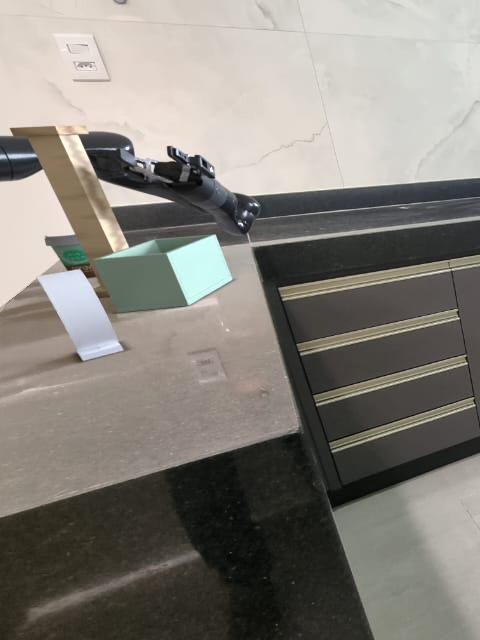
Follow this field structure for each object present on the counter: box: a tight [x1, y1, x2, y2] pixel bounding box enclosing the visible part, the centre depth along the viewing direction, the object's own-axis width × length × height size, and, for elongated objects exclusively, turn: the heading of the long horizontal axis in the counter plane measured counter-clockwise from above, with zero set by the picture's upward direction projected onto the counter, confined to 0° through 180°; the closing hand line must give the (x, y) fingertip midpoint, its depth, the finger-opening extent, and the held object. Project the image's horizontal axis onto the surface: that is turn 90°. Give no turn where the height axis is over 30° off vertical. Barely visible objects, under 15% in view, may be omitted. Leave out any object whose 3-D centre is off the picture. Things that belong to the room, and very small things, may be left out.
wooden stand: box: [9, 125, 130, 299], centre depth 106 cm, size 9×9×32 cm
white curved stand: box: [36, 269, 124, 362], centre depth 77 cm, size 5×6×12 cm
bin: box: [92, 233, 233, 314], centre depth 105 cm, size 19×12×10 cm, turn 13°
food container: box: [44, 234, 96, 279], centre depth 124 cm, size 12×6×10 cm, turn 122°
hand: (144, 151), depth 102 cm, fingers open, 8 cm apart
